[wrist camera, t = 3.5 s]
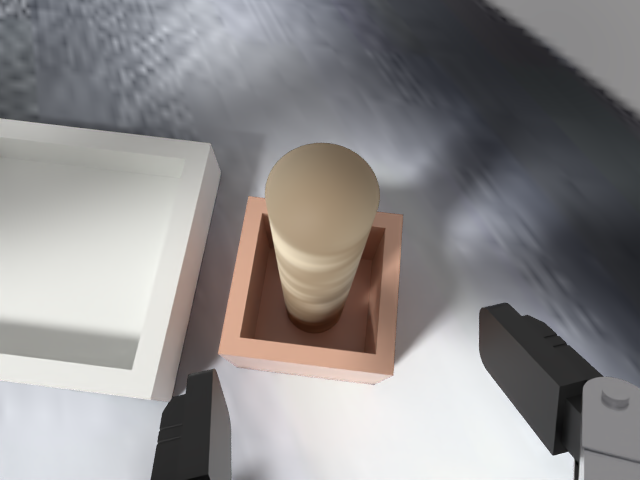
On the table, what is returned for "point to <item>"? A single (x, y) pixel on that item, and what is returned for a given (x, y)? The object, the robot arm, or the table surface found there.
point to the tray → (99, 256)
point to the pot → (313, 348)
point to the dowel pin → (319, 228)
